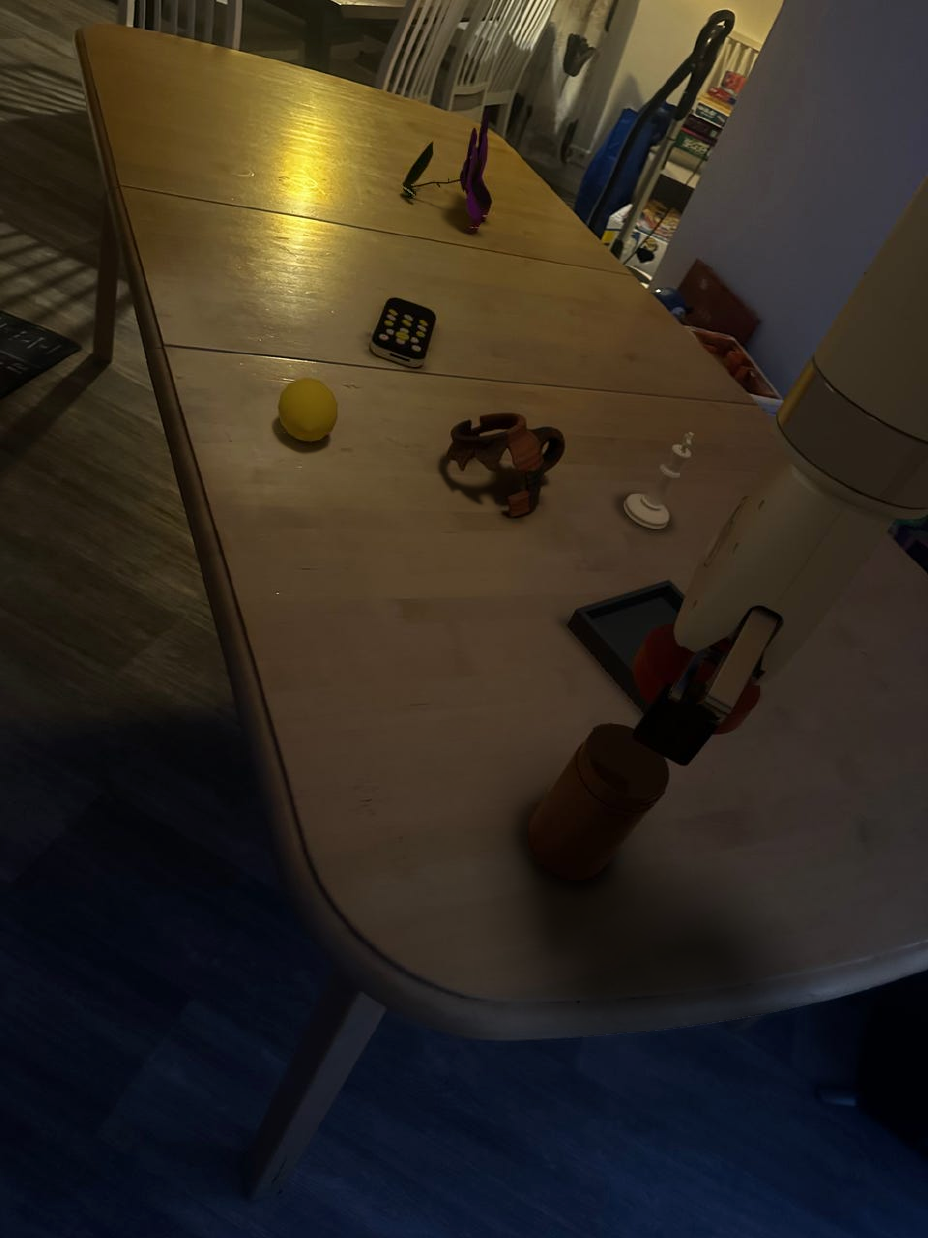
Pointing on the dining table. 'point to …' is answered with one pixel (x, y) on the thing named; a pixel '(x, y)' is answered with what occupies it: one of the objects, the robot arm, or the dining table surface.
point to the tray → (626, 629)
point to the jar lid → (664, 664)
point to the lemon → (308, 409)
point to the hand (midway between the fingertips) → (674, 704)
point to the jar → (597, 802)
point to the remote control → (403, 332)
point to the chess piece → (658, 490)
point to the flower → (463, 174)
